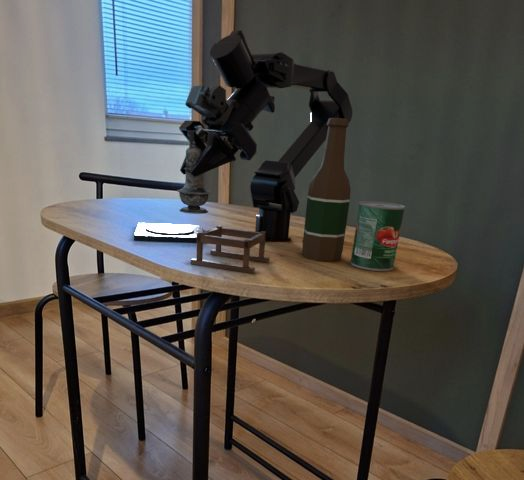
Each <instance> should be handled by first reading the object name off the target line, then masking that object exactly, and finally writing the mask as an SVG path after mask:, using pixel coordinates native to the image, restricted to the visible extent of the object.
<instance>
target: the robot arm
mask: <svg viewBox="0 0 524 480" xmlns="http://www.w3.org/2000/svg"><path fill="white" fill-rule="evenodd" d="M209 56H210V58H211V60H212V61H213V63H214V65H215V67H216V69H217V71H218V73H219V74H220V77H221V79H222V80H223V82H224V84H225V86H226V87H228V88H234V89H235V90H234V91H233V92H232V94H230V96H229V97H228V98H227V90H226V89H225V88H224V87H222V85H213V86H212V87H211V88H210V87H209V86H204V85H192V86H191V88H190V90H189V93H188V96H187V99H186V100H185V106H186V107H187V108H188V109H192V110H194V111H195V112H196V113H197V114H199V115H201V116H203V117H202V118H201V121H202V122H201V121H200V120H186V119H185V120H184V121H183V122H182V123H181V124H180V126H179V127H178V129H179V131H180V132H181V134H182V135H183V136H184V137H185V139H186V140H187V141H188V142H189V146H188V148H189V147H191V146H193V144H192V143H193V141H195V143H196V144H195V146H197V147H198V148H200V149H201V151H202V154H201V156H200V157H199V159H198V160H197V162H196V163H195V165H194V167H193V168H192V170H191V174H192V175H193V176H194V177H196V176H198V175H201V174H202V175H203V174H205V173H207V172H209V171H212V170H214V169H216V168H219V167H221V166H223V165H226V164H230V163H232V162H236V161H237V158H236V156H235V155H236V154H237V153H238V152H239V158H240V160H243V161H252V159H253V157H255V156H256V154H257V150H258V144H257V142H256V141H255V139H254V138H253V137H252V135H251V133H250V132H251V131H252V130H253V129H254V125H253V124H252V123H253V122H254V121H255V119H256V118H258V116H259V115H260V114H261V113H262V111H264V112H267V113H271V114H274V113H275V110H276V105H275V99H276V98H275V96H273V95H271V94H270V92H269V90H268V89H285V88H291V87H292V88H299V89H305V90H308V91H309V93H310V96H309V101H308V107H309V110H310V122H309V124H308V125H307V126H306V128H305V129H303V131H302V132H301V133H300V134H299V136H298V137H297V138H296V139H295V140H294V142H293V143H292V144H291V145H290V147H289V148H288V149H287V150H286V151H285V153H284V154H282V156H281V157H280V158H279V159H278V161H277V160H268V159H266V160H264V161H263V162H262V163H261V165H260V167H259V168H257V170H254V172H253V173H254V175H253V177H252V178H251V180H250V187H249V189H250V196H251V200H252V206H253V208H257V209H258V214H256V216H255V230H254V232H261V231H263V232H266V237H265V242H267V241H268V242H269V241H272V242H273V241H279V242H280V241H283V242H286V241H287V242H289V241H292V238H291V237H289V235H290V234H289V233H290V223H291V214H292V213H295V212H297V211H298V208H299V204H300V200H299V198H298V196H297V194H296V192H295V190H296V177H297V176H298V175H299V174H300V172H302V170H303V169H304V167H305V166H306V165H307V164H308V163H309V161H310V160H311V159H312V157H313V156H314V155H315V154H316V153H317V151H318V150H319V149H320V147H321V146H322V145H323V144H324V142H326V137H327V131H328V126H327V122H328V119H330V118H342V119H347V120H348V125H350V122H351V121H352V118H353V107H352V104H351V100H350V97H349V94H348V93H347V91H346V90H345V89H344V87H343V86H341V84H340V83H339V82H338V80H337V77H336V74H335V72H334V71H332V70H331V69H320V68H317V67H312V66H307V65H304V64H299V63H296V62H295V61H294V59H293V57H291V56H290V55H289V54H287V53H285V52H283V51H276V52H255V53H253V54H252V52H251V50H250V48H249V46H248V44H247V41H246V37H245V35H244V33H243V31H242V30H239V29H238V30H232V31H230V34H228V35H226V36H224V37H223V38H221V39H220V40H218V41H217V42H214V43H213V44H212V46H211V48H210V50H209ZM319 92H320V93H321V92H327V95H328V96H329V97H330V99H326V98H325V99H323V98H322V99H320V96H319ZM203 124H204V125H205V126H207V128H206V127H204V125H203ZM185 167H186V155H184V158H183V162H182V164H181V166H180V169H179V171H180V172H181V174H182V175H185V176H186V172H185V169H184V168H185Z"/></svg>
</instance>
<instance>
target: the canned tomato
mask: <svg viewBox="0 0 524 480" xmlns="http://www.w3.org/2000/svg"><path fill="white" fill-rule="evenodd" d="M358 205H359V206H358V211H357V218H356V225H355V231H354V239H353V245H352V251H351V258H350V259H351V260H350V262H349V263H350V265H351V266H353V267H355V268H357V269H360V270H366V271H373V272H389V271H392V270H394V266H395V261H396V257H397V251H398V246H399V241H400V234H401V230H402V229H401V228H402V225H403V224H402V223H403V219H404V212H405V209H406V206H405V205H403V204H400V203H399V204H398V203H394V202H386V201H376V200H375V201H373V200H362V201H359V204H358Z"/></svg>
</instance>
